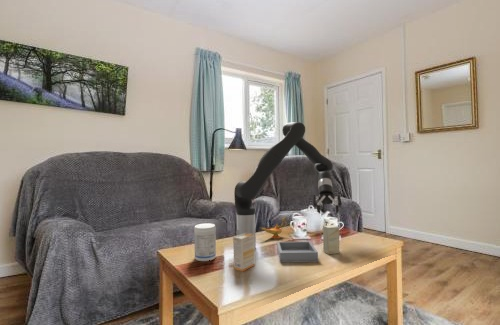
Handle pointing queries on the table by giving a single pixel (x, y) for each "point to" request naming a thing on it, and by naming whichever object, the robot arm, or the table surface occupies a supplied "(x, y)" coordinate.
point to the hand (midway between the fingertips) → (328, 212)
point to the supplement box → (243, 251)
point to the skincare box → (331, 239)
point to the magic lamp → (275, 230)
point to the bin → (297, 252)
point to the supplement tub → (205, 242)
